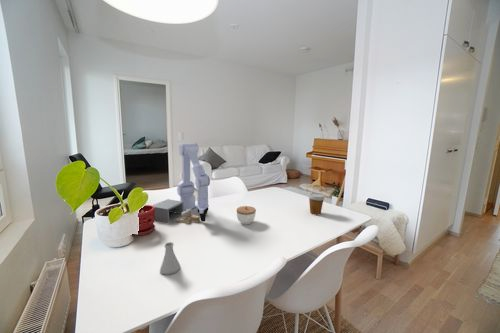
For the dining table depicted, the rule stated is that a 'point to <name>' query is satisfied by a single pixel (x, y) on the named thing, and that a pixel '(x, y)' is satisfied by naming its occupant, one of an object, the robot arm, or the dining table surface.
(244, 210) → the lidded jar
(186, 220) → the tan t-shaped block
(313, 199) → the disposable coffee cup
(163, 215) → the grey slotted box
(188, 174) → the robot arm
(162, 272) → the flask
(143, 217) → the plant pot
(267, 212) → the dining table surface
